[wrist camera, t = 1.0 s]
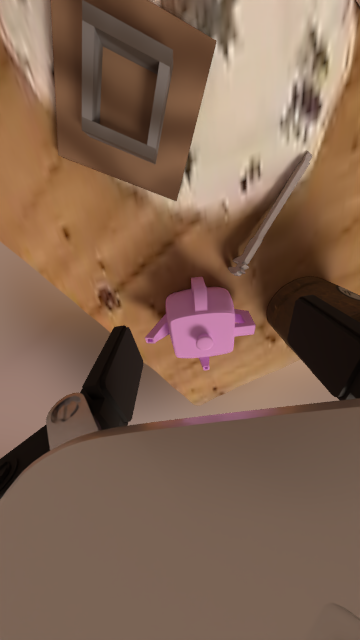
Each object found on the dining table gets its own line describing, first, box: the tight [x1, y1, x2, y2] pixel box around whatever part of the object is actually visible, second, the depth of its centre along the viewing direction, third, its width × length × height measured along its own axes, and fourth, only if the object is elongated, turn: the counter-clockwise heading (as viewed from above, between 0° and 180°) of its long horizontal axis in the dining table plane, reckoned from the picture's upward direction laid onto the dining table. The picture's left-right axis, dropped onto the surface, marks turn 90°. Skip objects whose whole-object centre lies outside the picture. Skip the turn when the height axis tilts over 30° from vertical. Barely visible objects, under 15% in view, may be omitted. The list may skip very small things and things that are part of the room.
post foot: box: [51, 0, 216, 201], centre depth 22 cm, size 16×18×4 cm
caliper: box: [228, 152, 312, 276], centre depth 29 cm, size 20×1×6 cm, turn 152°
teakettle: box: [145, 277, 255, 370], centre depth 36 cm, size 17×17×12 cm
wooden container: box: [267, 277, 360, 375], centre depth 32 cm, size 15×15×22 cm
